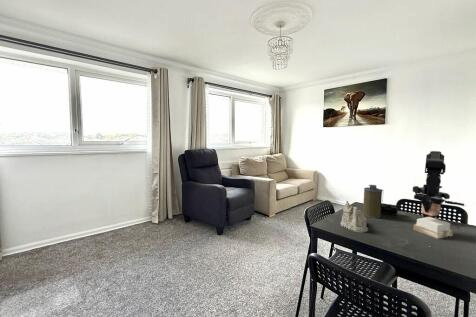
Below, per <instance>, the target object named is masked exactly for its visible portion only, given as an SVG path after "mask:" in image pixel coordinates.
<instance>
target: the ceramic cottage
mask: <svg viewBox="0 0 476 317" xmlns="http://www.w3.org/2000/svg"><path fill="white" fill-rule="evenodd" d="M367 221H368V219H367V217H366V216H364V215H363V210H361V209H359V210H358V207H356V206H352V205H351V204H350V202H349V200H346V201H345V203H344V207H343V208H342V215H341V222H340V226H341V227H343V226H344V227H343V228H345V227H346V228H345V229H347V228H348V230H350V231H352V230H353V232H354V233H355V232H356V233H366V232H368V231H369V228H368V227H367V224H368V223H367Z"/></svg>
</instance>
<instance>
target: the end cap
mask: <svg viewBox="0 0 476 317" xmlns="http://www.w3.org/2000/svg"><path fill="white" fill-rule="evenodd" d="M398 212H399V205H397V204H391V203H390V204H389V203H384V202H383V204H382V202H381V213H380V216H386V217H393V218H397V216H398Z"/></svg>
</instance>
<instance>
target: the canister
mask: <svg viewBox="0 0 476 317" xmlns="http://www.w3.org/2000/svg"><path fill="white" fill-rule="evenodd" d="M383 200H384V199H383V189H381V188H377V185H376V184H369V185H368V187H364V188H363V207H362V213H363V215H364V216H365V217H366V218H372V219H373V218H374V219H378V218H381V216H382V215H380V213H381V203H382V204H383V203H384V202H383Z"/></svg>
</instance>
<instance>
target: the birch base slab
mask: <svg viewBox="0 0 476 317" xmlns="http://www.w3.org/2000/svg"><path fill="white" fill-rule="evenodd" d="M413 230H414V231H416V232H418V233H420V234H421V233H422V234H424V235H427V236H429V237H431V238H435V239H437V240H438V239H442V238H443V239H444V238H448V236H449V237H453V236H454V229H451V228H450V230H445V231H440V232H435V231H432V230H429V229H427V228H424V227H421V226H418V225H417V223H415V224H414V223H413Z"/></svg>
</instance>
